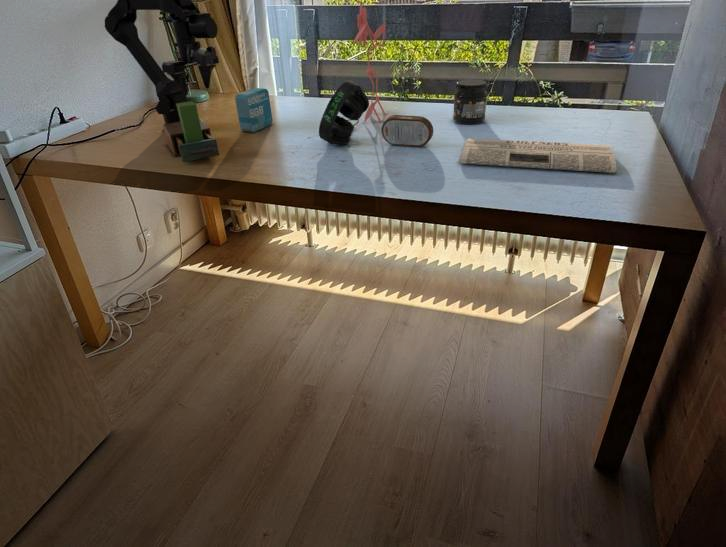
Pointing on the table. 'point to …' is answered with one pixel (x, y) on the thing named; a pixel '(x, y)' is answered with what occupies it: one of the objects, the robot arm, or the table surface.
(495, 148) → the newspaper
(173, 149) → the cabinet
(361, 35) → the figurine
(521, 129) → the table surface
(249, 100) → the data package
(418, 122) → the tin
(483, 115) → the supplement container
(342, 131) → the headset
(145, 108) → the table surface
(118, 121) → the table surface
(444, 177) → the table surface
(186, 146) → the drawer
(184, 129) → the green beveled box
